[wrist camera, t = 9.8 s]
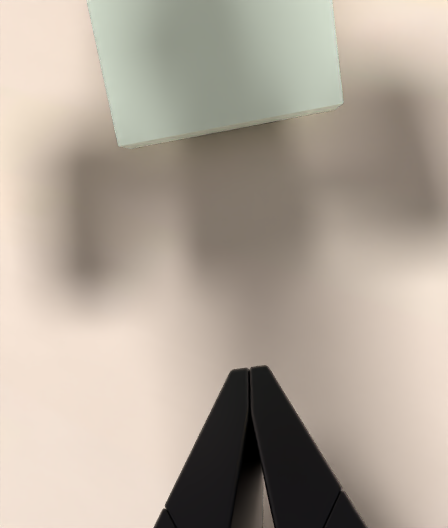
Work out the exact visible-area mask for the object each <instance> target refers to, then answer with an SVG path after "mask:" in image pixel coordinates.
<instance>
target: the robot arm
mask: <svg viewBox="0 0 448 528" xmlns="http://www.w3.org/2000/svg"><path fill="white" fill-rule="evenodd" d="M263 476H264V481H265V486H266V490H267V495H268V500H269V504H270V509H271V514H272V518H273V523H274V528H368V527H367V526H366V524H365V523H364V521H363V519H362V518H361V516H360V515H359V513H358V512H357V510H356V509H355V507H354V505H353V504H352V502H351V501H350V499H349V497H348V496H347V494H346V492H345V491H343V488H342V486H341V485H340V483H339V481H338V480H337V478H336V476H335V475H334V473H333V472H332V470H331V468H330V467H329V465H328V463H327V462H326V460H325V458H324V457H323V455H322V454H321V452H320V450H319V449H318V447H317V445H316V444H315V442H314V440H313V439H312V437H311V436H310V434H309V432H308V431H307V429H306V427H305V426H304V424H303V422H302V421H301V419H300V418H299V416H298V414H297V413H296V411H295V409H294V408H293V406H292V404H291V403H290V401H289V400H288V398H287V396H286V395H285V393H284V391H283V390H282V388H281V386H280V385H279V383H278V382H277V380H276V378H275V377H274V375H273V373H272V372H271V370H270V368H269V367H268V366H266V365H263V366H256V367H251V368H250V370H249V369H248V368H241V369H233V370H232V371H230V373H229V375H228V377H227V379H226V381H225V383H224V385H223V387H222V389H221V391H220V393H219V395H218V397H217V399H216V402H215V404H214V406H213V408H212V410H211V412H210V414H209V416H208V418H207V420H206V422H205V424H204V426H203V428H202V430H201V432H200V434H199V436H198V438H197V440H196V442H195V444H194V446H193V448H192V451H191V453H190V455H189V457H188V459H187V461H186V463H185V465H184V467H183V469H182V471H181V473H180V475H179V477H178V479H177V481H176V483H175V485H174V487H173V489H172V491H171V493H170V495H169V497H168V500H167V502H166V504H165V508H166V509H165V508H164V509H162V511H161V513H160V515H159V518H158V520H157V522H156V524H155V526H154V528H263Z"/></svg>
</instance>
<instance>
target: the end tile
mask: <svg viewBox="0 0 448 528" xmlns="http://www.w3.org/2000/svg"><path fill="white" fill-rule="evenodd" d="M87 4H88V9H89V13H90V18H91V23H92V27H93V32H94V37H95V41H96V46H97V50H98V55H99V60H100V64H101V69H102V73H103V78H104V83H105V87H106V92H107V97H108V101H109V106H110V110H111V115H112V120H113V124H114V129H115V134H116V138H117V143H118V146H119V147H124V148H129V149H133V148H138V147H144V146H149V145H154V144H159V143H165V142H170V141H175V140H180V139H186V138H191V137H196V136H201V135H207V134H212V133H217V132H222V131H227V130H233V129H238V128H243V127H248V126H254V125H259V124H264V123H269V122H275V121H280V120H285V119H290V118H296V117H301V116H306V115H311V114H317V113H322V112H327V111H332V110H336V109H337V108H338V107H340V106H341V105H342V104H343V103H344V102H343V93H342V84H341V75H340V66H339V57H338V48H337V39H336V30H335V21H334V12H333V3H332V0H87Z"/></svg>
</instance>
